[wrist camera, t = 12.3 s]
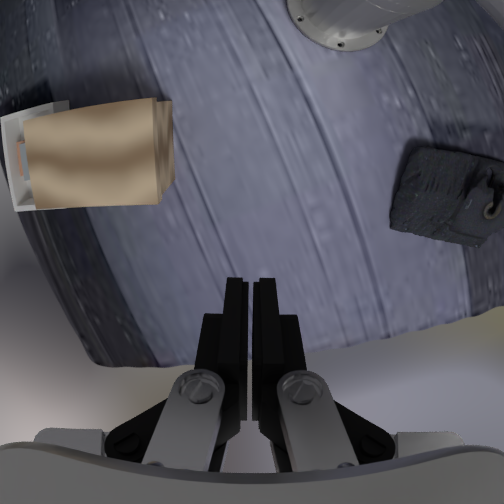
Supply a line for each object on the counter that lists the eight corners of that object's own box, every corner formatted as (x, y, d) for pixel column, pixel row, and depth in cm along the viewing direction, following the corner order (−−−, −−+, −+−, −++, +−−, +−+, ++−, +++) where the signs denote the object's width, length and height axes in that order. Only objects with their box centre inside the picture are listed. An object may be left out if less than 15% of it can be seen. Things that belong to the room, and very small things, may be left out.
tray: (17, 113, 32) (0, 117, 29) (69, 99, 32) (53, 102, 29) (29, 201, 39) (14, 211, 35) (79, 197, 39) (65, 208, 36)
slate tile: (50, 137, 31) (56, 135, 33) (19, 144, 30) (25, 141, 32) (55, 175, 33) (60, 171, 35) (24, 180, 32) (30, 176, 34)
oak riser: (58, 112, 33) (22, 121, 26) (171, 96, 33) (152, 97, 26) (66, 188, 38) (35, 209, 31) (175, 182, 39) (158, 204, 31)
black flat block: (407, 125, 35) (425, 130, 31) (510, 166, 36) (528, 175, 32) (380, 230, 42) (393, 245, 38) (483, 249, 44) (498, 262, 39)
